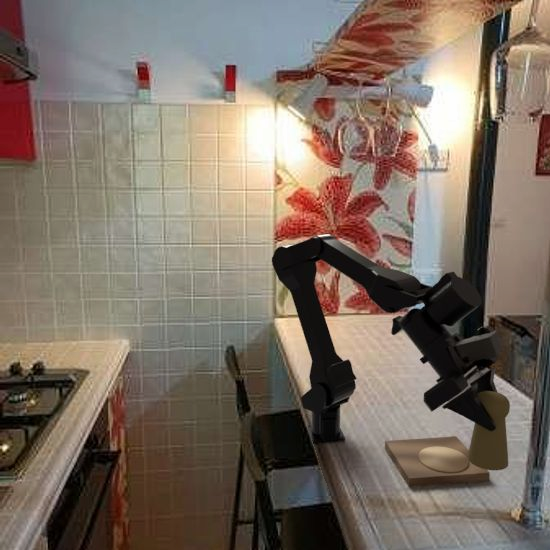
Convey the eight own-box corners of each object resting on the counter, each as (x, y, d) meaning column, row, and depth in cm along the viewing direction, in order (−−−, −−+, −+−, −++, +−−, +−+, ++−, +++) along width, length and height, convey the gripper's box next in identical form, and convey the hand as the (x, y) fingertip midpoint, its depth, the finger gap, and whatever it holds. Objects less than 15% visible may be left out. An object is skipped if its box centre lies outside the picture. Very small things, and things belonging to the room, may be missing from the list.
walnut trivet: (384, 448, 102) (385, 439, 102) (455, 443, 104) (456, 434, 103) (408, 486, 90) (409, 476, 89) (489, 480, 91) (489, 470, 91)
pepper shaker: (498, 450, 88) (502, 386, 86) (515, 469, 82) (521, 402, 80) (461, 450, 88) (465, 387, 86) (476, 470, 82) (481, 402, 80)
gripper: (448, 325, 76) (525, 420, 71) (491, 301, 90) (557, 379, 85) (394, 366, 82) (462, 456, 77) (442, 337, 96) (502, 412, 92)
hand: (499, 423), depth 83 cm, fingers closed on pepper shaker, 5 cm apart
